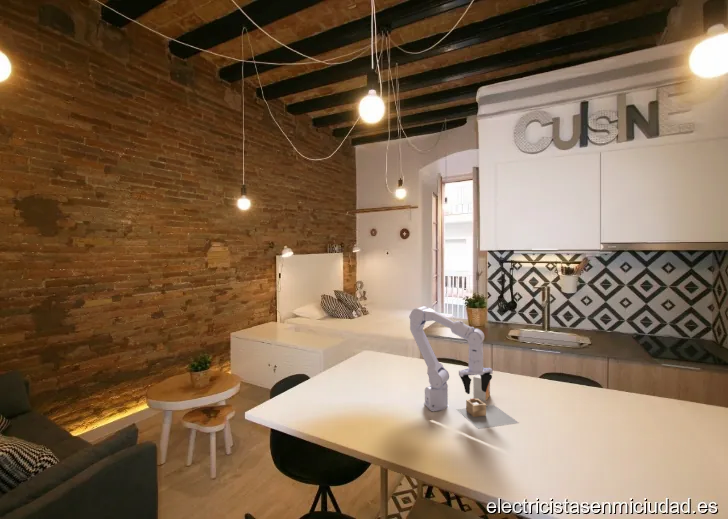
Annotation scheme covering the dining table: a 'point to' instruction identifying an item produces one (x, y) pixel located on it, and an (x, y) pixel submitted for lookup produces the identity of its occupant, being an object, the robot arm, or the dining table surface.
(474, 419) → the panel
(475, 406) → the wooden cubby shelf
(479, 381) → the small box
